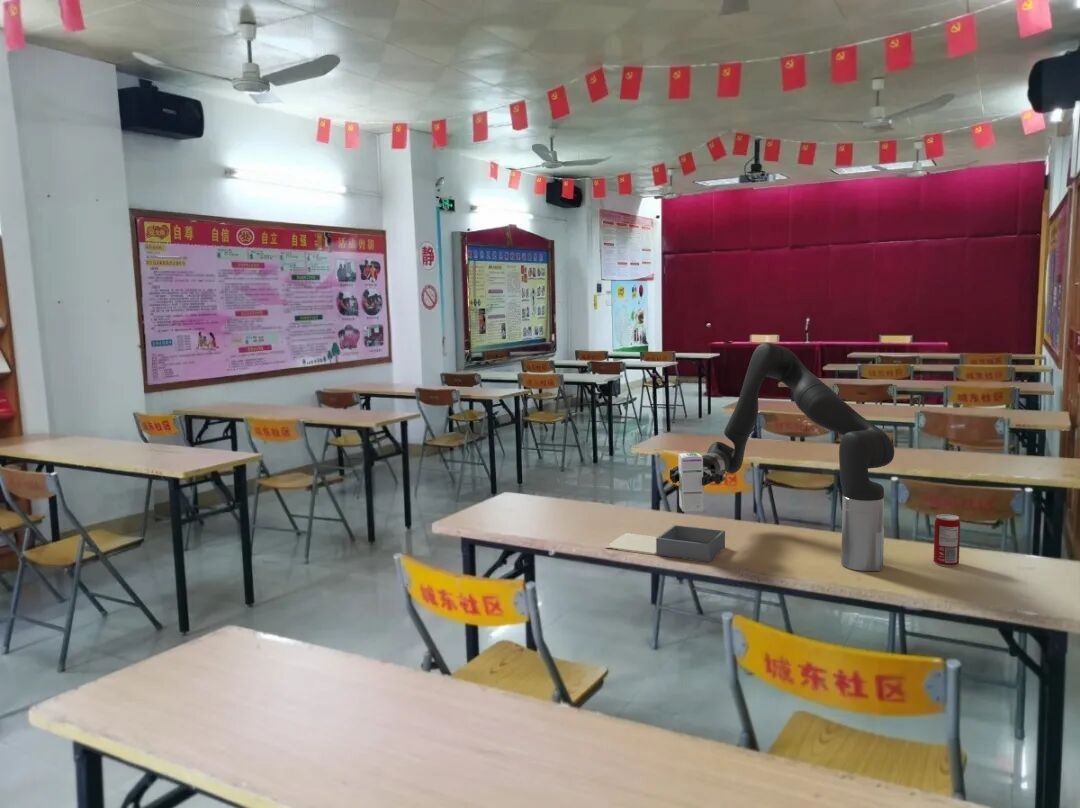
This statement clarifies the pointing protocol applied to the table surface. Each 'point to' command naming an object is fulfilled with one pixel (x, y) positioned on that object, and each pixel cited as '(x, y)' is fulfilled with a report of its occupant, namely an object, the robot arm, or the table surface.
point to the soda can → (946, 540)
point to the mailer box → (675, 543)
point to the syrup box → (691, 482)
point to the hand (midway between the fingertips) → (688, 480)
